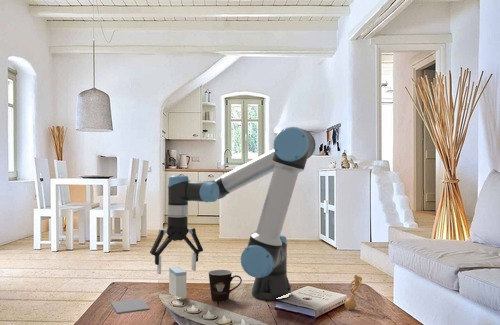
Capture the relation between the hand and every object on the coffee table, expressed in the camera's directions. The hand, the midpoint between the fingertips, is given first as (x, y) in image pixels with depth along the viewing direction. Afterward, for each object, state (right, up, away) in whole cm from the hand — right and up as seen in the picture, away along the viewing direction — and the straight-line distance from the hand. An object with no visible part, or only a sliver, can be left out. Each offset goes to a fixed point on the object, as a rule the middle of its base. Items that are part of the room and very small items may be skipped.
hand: (176, 271), depth 177 cm
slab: (0, -9, 0) cm, 9 cm away
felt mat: (-15, -9, -13) cm, 22 cm away
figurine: (+64, -10, -16) cm, 66 cm away
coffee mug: (+18, -9, -5) cm, 21 cm away
